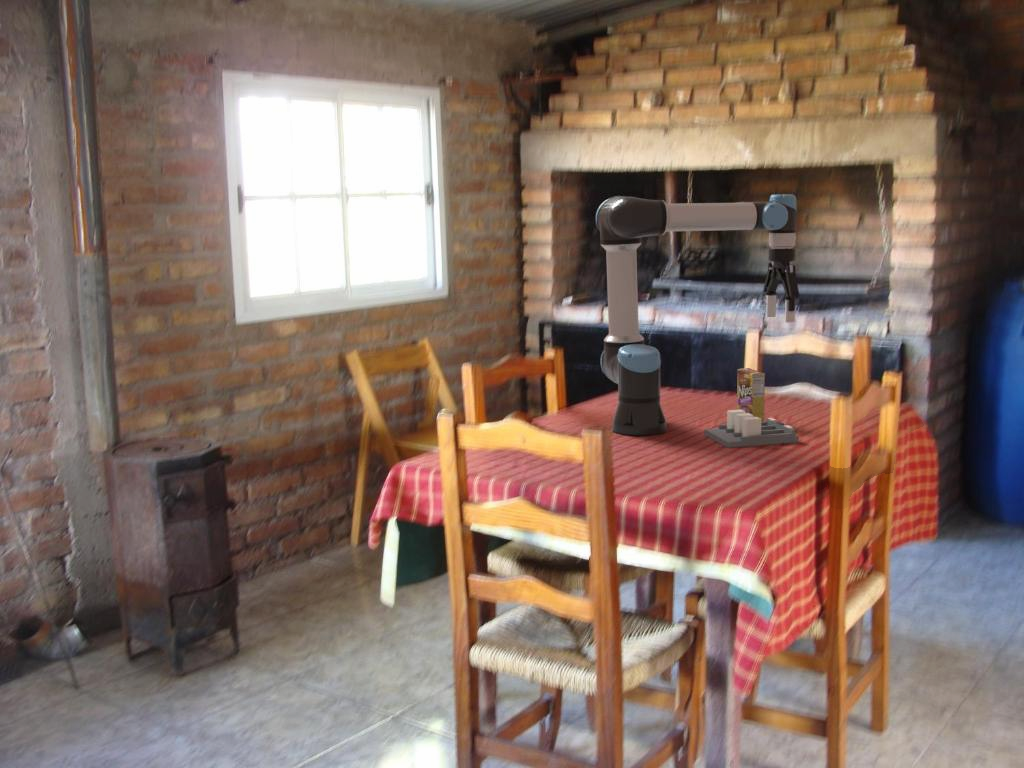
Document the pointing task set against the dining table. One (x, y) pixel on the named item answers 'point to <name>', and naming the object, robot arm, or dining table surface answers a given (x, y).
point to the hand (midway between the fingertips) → (780, 319)
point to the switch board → (769, 435)
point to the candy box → (751, 392)
